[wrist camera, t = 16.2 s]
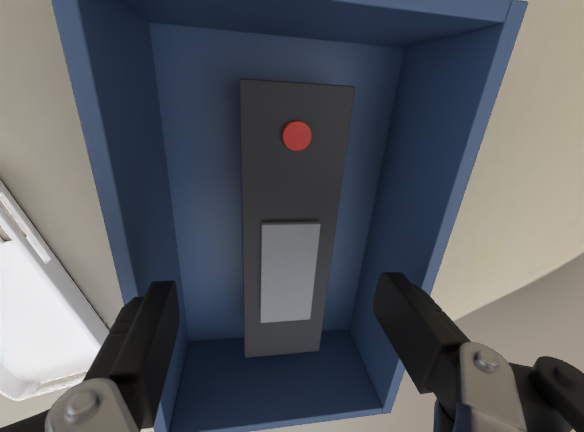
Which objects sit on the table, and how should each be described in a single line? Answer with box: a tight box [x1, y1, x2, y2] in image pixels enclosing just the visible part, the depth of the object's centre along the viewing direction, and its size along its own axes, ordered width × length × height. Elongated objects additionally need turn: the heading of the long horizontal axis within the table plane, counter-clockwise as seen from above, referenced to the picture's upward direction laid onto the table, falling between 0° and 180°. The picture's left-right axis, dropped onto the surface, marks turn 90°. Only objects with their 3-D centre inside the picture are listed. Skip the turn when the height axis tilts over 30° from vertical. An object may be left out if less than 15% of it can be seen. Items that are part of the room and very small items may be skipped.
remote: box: [239, 78, 355, 358], centre depth 15 cm, size 5×15×4 cm, turn 177°
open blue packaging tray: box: [51, 0, 528, 432], centre depth 14 cm, size 13×20×6 cm, turn 176°
